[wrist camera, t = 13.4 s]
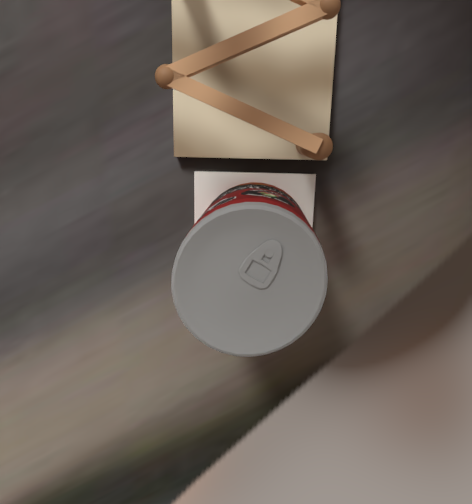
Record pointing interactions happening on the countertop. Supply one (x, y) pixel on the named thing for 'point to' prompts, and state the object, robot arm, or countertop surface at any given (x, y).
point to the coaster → (293, 184)
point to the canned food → (250, 272)
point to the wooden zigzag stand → (252, 78)
